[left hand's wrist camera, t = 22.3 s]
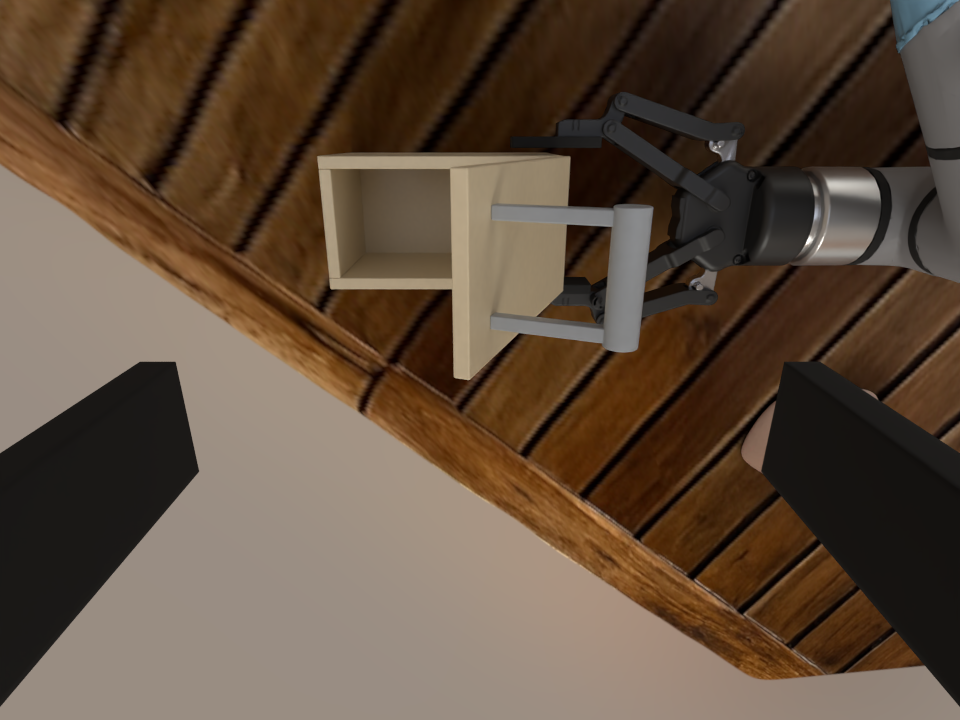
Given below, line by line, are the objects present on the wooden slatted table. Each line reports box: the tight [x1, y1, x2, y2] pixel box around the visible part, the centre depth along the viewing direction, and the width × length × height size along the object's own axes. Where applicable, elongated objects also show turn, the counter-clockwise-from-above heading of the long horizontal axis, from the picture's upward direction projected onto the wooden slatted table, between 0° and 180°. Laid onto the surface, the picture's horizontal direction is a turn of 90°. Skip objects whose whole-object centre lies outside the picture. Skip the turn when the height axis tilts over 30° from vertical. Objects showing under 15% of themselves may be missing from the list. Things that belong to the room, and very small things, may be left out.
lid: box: [450, 156, 653, 380], centre depth 30 cm, size 18×9×8 cm
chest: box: [317, 153, 560, 289], centre depth 45 cm, size 17×9×11 cm, turn 90°
